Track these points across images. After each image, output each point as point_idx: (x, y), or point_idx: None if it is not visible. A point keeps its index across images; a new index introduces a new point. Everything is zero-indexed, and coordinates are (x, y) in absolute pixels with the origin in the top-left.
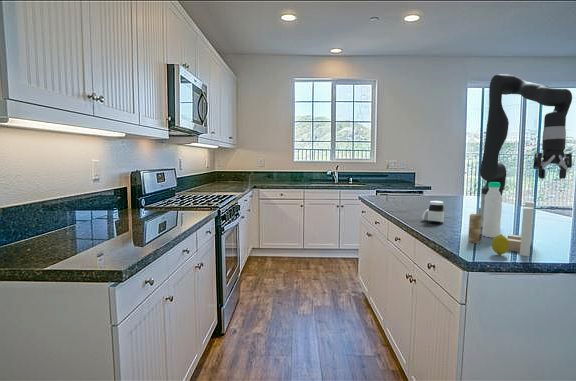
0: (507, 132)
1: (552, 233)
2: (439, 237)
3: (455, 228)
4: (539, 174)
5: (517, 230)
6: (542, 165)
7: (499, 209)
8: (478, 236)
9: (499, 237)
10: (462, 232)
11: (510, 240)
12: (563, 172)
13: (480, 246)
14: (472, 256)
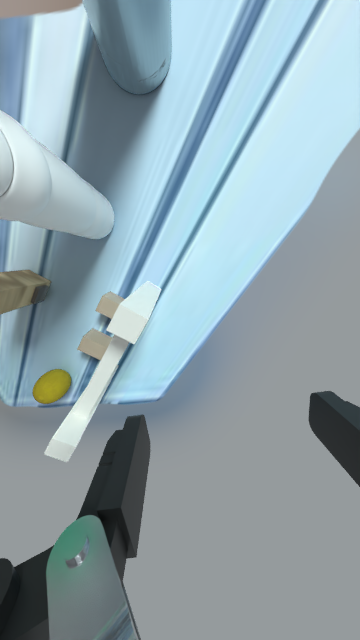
0: None
1: (297, 152)
2: None
3: (5, 85)
4: (110, 460)
5: (214, 107)
6: (113, 622)
7: (60, 224)
8: (30, 303)
9: (38, 401)
10: None
11: (85, 352)
12: (356, 480)
13: (44, 319)
14: (17, 383)
